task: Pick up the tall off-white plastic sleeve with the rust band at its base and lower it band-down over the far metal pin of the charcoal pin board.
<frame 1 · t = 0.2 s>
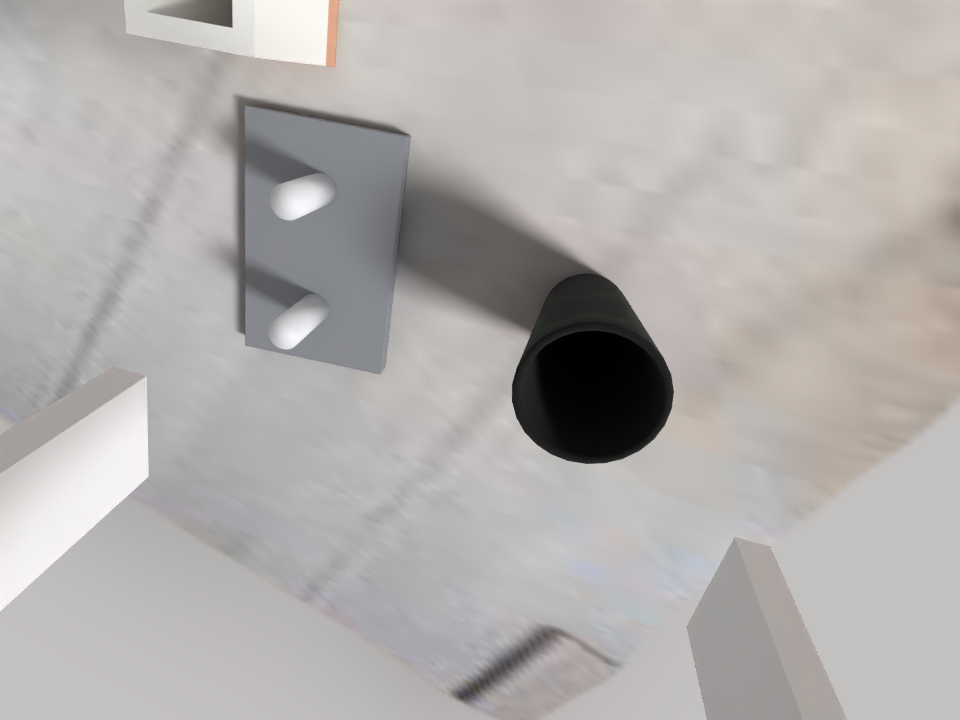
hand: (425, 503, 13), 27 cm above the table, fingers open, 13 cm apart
pinboard: (324, 246, 40), on the table
sleeve: (288, 0, 34), on the table
cup: (584, 313, 40), on the table
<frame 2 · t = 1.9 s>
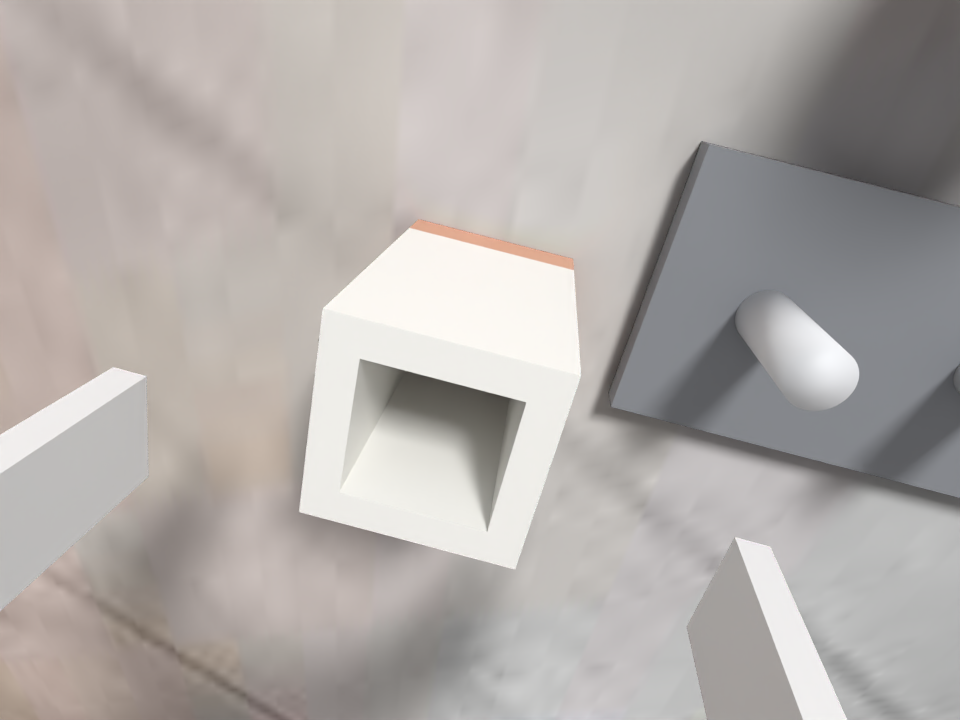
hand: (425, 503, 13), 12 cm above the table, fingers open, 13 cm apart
pinboard: (859, 332, 22), on the table
sleeve: (478, 311, 24), on the table
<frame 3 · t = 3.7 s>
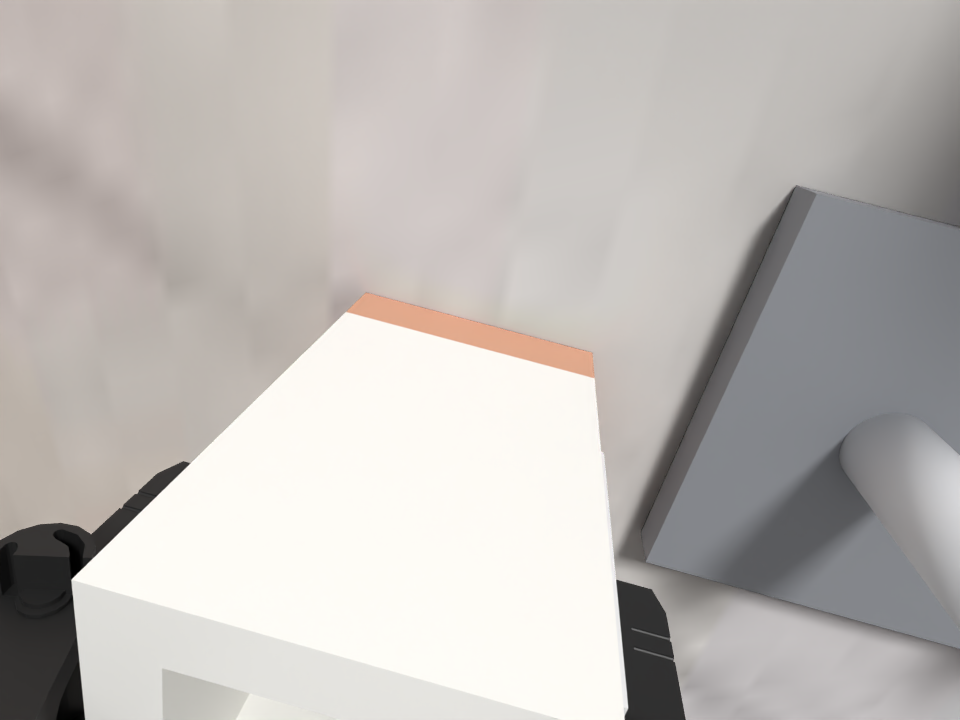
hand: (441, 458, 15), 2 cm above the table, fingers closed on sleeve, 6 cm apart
sleeve: (454, 420, 16), on the table, touching gripper
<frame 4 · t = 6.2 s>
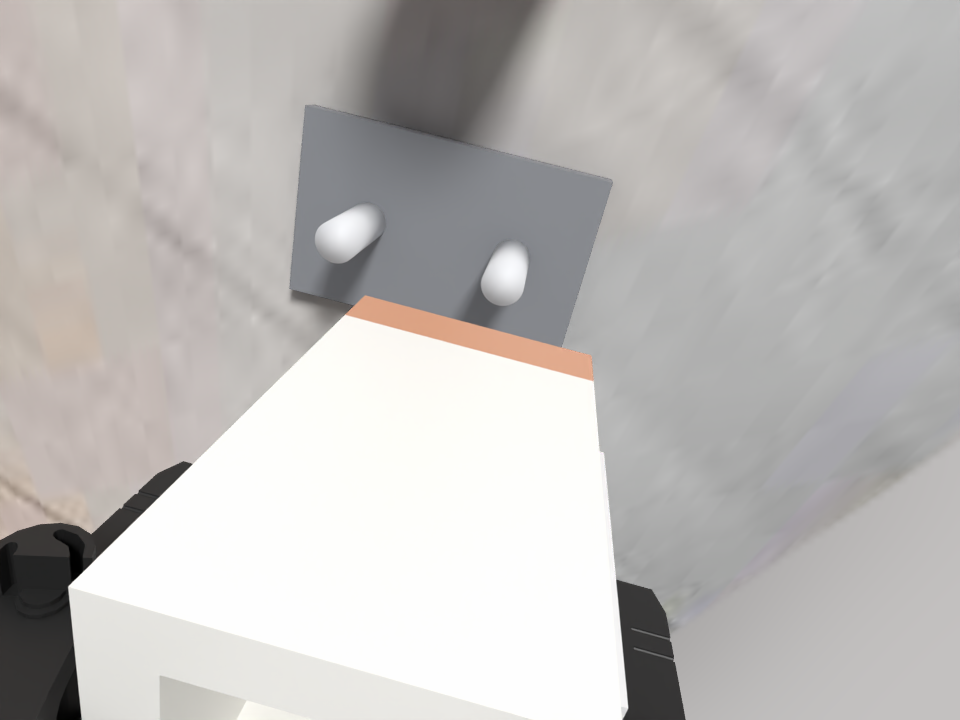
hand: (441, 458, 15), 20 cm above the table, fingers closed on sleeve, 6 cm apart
pinboard: (443, 234, 33), on the table
sleeve: (453, 422, 16), point 18 cm above the table, touching gripper
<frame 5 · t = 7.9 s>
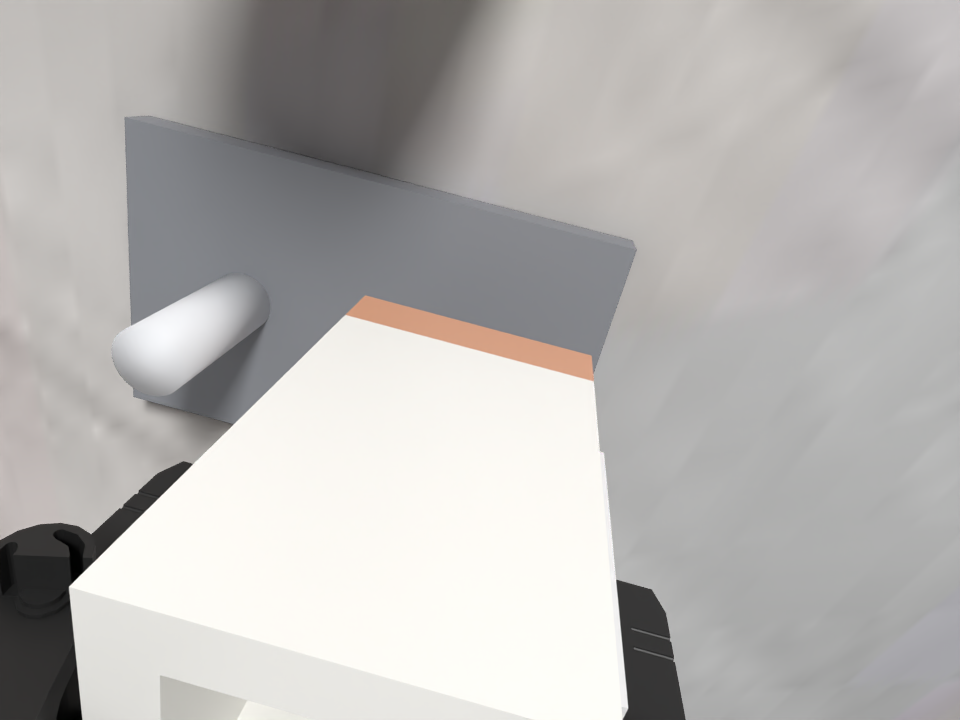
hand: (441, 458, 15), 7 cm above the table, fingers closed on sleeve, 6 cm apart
pinboard: (366, 319, 21), on the table
sleeve: (453, 422, 16), point 5 cm above the table, touching gripper
when the fingers open (5 cm above the table, at t = 8.9 s): sleeve drops 2 cm, resting on pinboard.
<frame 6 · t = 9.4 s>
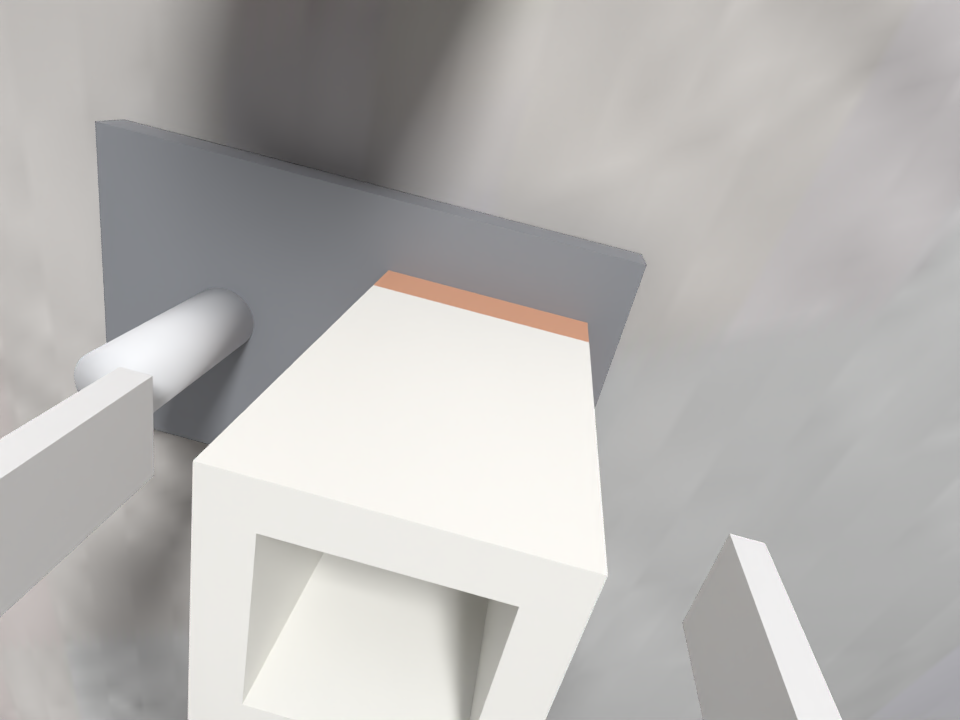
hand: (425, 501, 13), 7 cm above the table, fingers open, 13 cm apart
pinboard: (356, 336, 20), on the table
sleeve: (465, 384, 19), point 1 cm above the table, touching pinboard
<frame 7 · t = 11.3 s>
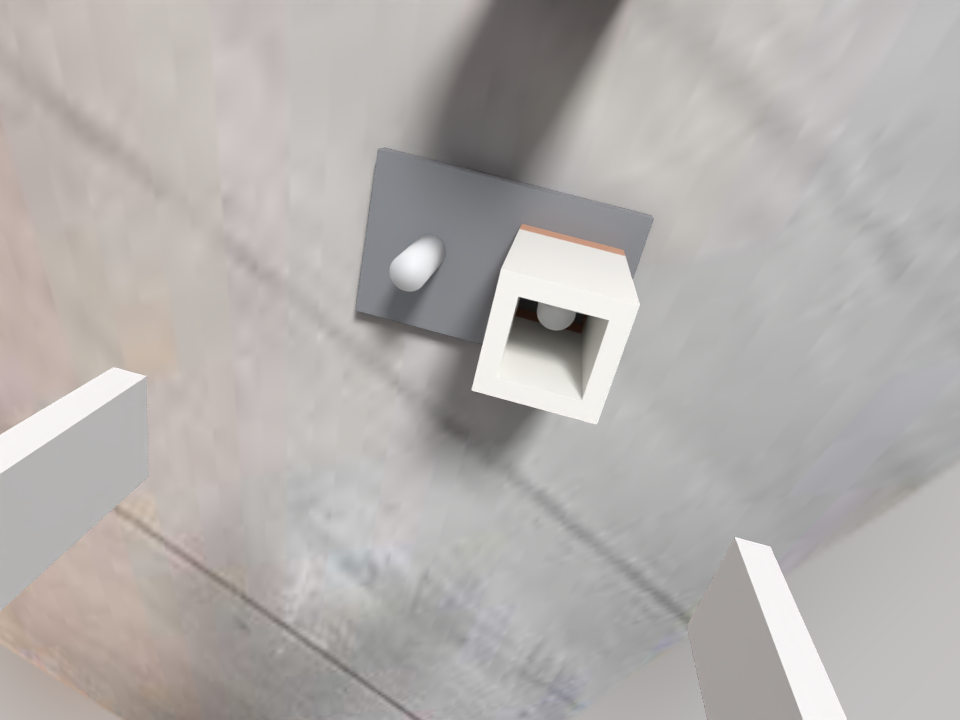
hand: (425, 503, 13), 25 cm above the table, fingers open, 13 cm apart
pinboard: (496, 262, 37), on the table
sleeve: (558, 285, 35), point 1 cm above the table, touching pinboard
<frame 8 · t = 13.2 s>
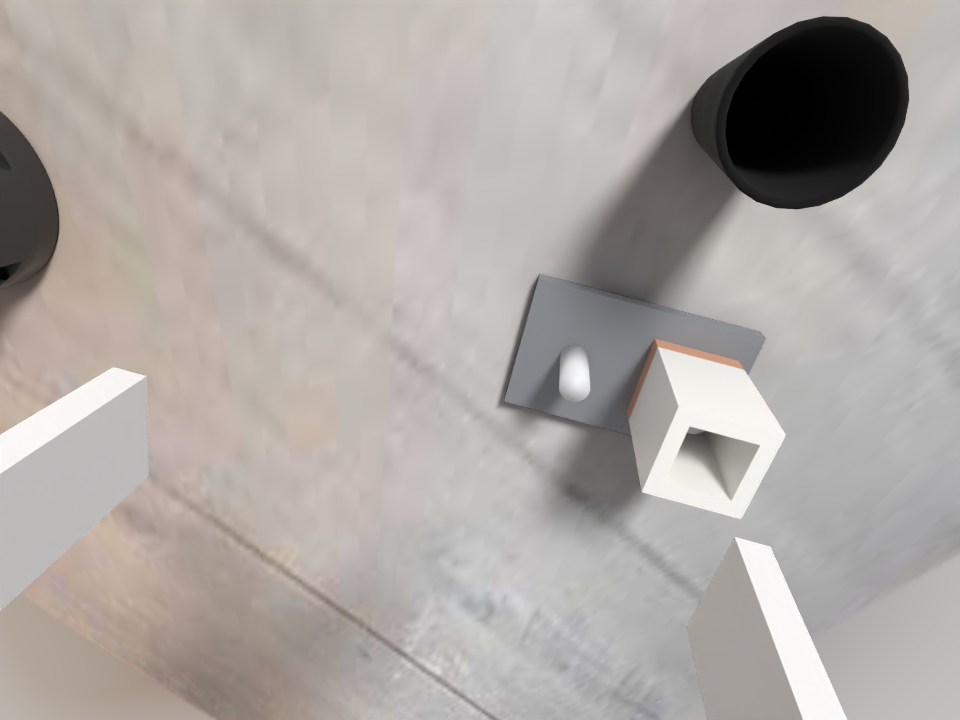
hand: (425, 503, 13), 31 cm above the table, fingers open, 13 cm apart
pinboard: (626, 364, 44), on the table
sleeve: (681, 386, 43), point 1 cm above the table, touching pinboard
cup: (737, 111, 36), on the table
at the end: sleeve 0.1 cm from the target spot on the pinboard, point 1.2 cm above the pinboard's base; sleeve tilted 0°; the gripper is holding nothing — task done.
